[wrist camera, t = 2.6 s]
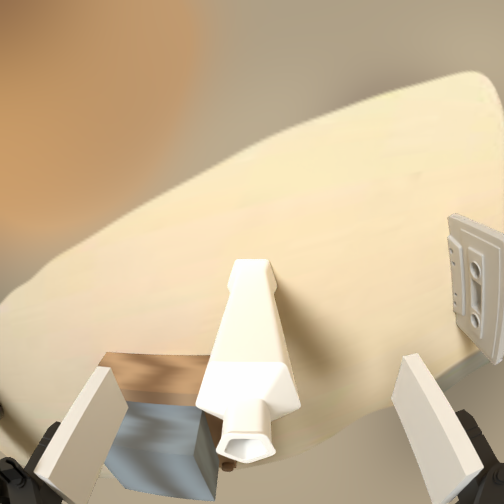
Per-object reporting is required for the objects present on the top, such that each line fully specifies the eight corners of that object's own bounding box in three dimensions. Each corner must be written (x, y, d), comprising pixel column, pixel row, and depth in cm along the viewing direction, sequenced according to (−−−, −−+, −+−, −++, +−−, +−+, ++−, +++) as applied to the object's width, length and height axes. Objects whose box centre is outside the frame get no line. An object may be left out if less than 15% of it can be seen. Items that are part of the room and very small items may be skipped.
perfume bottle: (223, 306, 24) (191, 473, 10) (221, 255, 22) (171, 411, 8) (281, 307, 24) (302, 475, 10) (283, 255, 22) (318, 414, 8)
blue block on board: (140, 427, 30) (118, 491, 20) (106, 352, 26) (62, 422, 16) (238, 433, 29) (233, 506, 20) (224, 355, 25) (211, 445, 16)
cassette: (442, 216, 21) (500, 244, 14) (457, 209, 21) (516, 234, 14) (452, 326, 25) (491, 370, 17) (465, 319, 24) (505, 360, 17)
